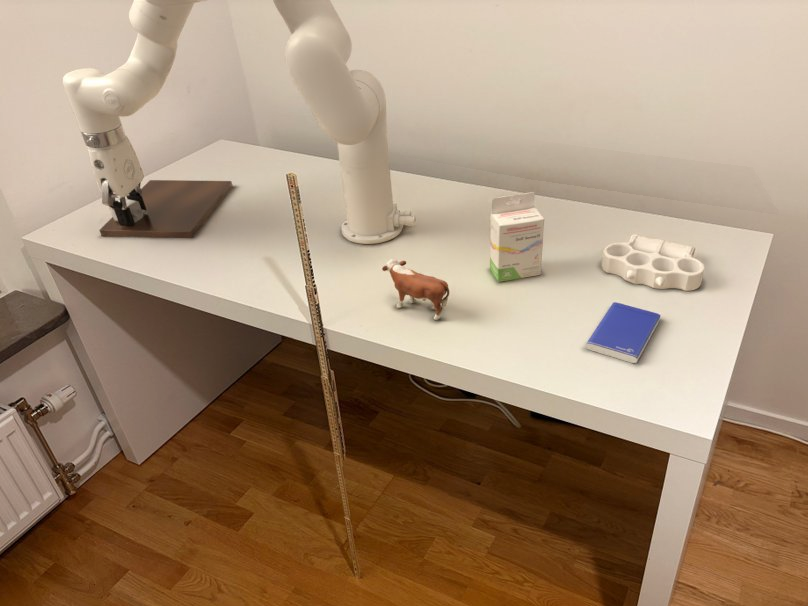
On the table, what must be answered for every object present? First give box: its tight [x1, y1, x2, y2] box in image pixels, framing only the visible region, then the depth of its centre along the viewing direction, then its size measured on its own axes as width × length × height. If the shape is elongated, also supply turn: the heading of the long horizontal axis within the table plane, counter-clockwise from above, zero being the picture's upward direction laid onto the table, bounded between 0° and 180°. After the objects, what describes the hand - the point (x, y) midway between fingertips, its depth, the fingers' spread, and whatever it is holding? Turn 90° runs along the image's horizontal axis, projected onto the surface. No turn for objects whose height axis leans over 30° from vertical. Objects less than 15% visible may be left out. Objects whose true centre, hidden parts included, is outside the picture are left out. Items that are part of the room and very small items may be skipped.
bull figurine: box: [381, 258, 450, 321], centre depth 118 cm, size 4×13×8 cm, turn 55°
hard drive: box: [585, 301, 661, 364], centre depth 112 cm, size 2×8×12 cm
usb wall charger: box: [108, 198, 147, 222], centre depth 146 cm, size 4×7×4 cm, turn 66°
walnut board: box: [98, 179, 234, 239], centre depth 153 cm, size 20×24×2 cm
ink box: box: [489, 191, 545, 283], centre depth 124 cm, size 9×5×15 cm, turn 105°
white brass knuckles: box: [601, 233, 705, 292], centre depth 126 cm, size 3×18×15 cm
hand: (133, 218), depth 147 cm, fingers closed on usb wall charger, 4 cm apart
